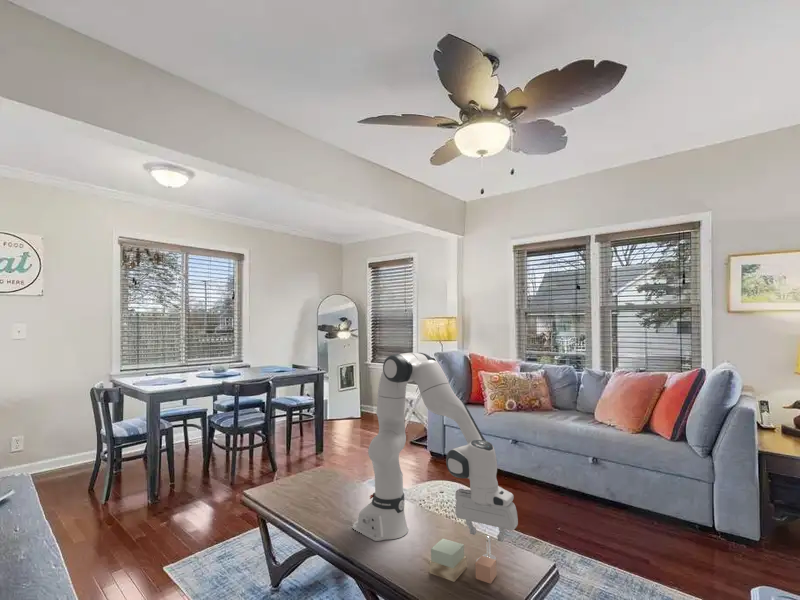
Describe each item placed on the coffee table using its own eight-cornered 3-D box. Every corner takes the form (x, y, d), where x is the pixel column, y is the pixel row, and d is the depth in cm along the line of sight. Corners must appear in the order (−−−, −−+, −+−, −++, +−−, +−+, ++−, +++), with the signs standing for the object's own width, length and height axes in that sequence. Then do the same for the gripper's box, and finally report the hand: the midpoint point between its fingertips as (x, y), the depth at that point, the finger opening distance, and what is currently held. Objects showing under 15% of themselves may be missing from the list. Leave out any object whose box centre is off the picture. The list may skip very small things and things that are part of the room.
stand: (473, 562, 148) (486, 553, 153) (485, 568, 144) (499, 558, 150) (472, 539, 148) (486, 531, 154) (485, 544, 145) (498, 536, 150)
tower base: (429, 574, 142) (429, 561, 142) (442, 561, 150) (442, 549, 150) (454, 582, 137) (454, 569, 137) (466, 569, 145) (466, 556, 145)
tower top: (431, 561, 143) (430, 548, 143) (443, 550, 149) (442, 538, 149) (453, 568, 138) (452, 555, 138) (464, 556, 145) (463, 544, 145)
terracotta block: (475, 578, 139) (475, 562, 139) (482, 571, 143) (481, 555, 143) (490, 583, 136) (490, 567, 136) (496, 575, 140) (496, 559, 140)
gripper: (450, 490, 144) (453, 533, 143) (511, 502, 132) (514, 549, 132) (459, 484, 149) (461, 525, 148) (518, 495, 138) (520, 540, 137)
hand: (486, 537), depth 140 cm, fingers open, 8 cm apart
